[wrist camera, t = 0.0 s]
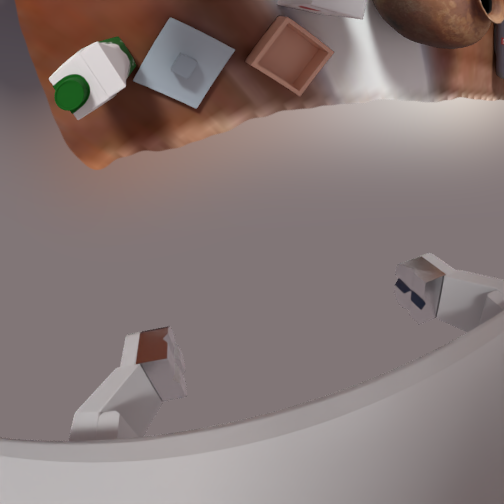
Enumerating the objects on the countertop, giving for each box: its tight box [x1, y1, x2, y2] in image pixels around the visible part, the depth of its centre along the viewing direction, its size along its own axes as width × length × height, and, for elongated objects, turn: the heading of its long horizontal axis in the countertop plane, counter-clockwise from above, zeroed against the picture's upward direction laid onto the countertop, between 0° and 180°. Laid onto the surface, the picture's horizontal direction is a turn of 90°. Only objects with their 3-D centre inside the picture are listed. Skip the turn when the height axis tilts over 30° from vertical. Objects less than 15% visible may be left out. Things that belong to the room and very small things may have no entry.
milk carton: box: [49, 37, 136, 120], centre depth 35 cm, size 9×9×20 cm
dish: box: [245, 16, 334, 96], centre depth 47 cm, size 11×11×5 cm
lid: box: [133, 17, 235, 109], centre depth 44 cm, size 13×13×5 cm
